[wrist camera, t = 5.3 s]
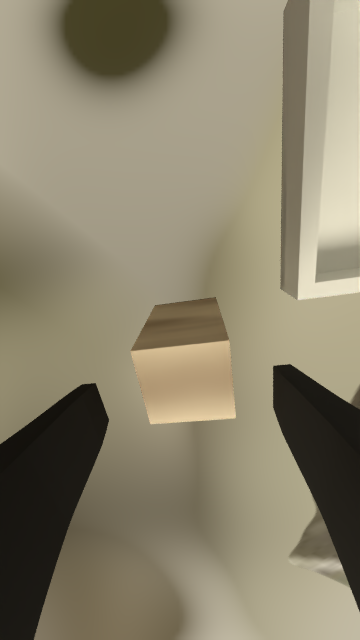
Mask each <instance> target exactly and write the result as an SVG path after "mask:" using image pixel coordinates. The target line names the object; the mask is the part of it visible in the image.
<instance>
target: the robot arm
mask: <svg viewBox="0 0 360 640" xmlns="http://www.w3.org/2000/svg"><path fill="white" fill-rule="evenodd" d="M273 408H274V411H275V414H276V417H277V420H278V422H279V425H280V428H281V431H282V433H283V435H284V437H285V440H286V442H287V444H288V446H289V448H290V450H291V452H292V454H293V456H294V458H295V460H296V462H297V465H298V466H299V468H300V471H301V473H302V475H303V477H304V478H305V481H306V483H307V485H308V487H309V489H310V491H311V493H312V495H313V497H314V499H315V501H316V503H317V506H318V508H319V510H320V512H321V515H322V517H323V519H324V521H325V524H326V526H327V529H328V531H329V534H330V536H331V539H332V542H333V544H334V547H335V549H336V552H337V554H338V557H339V559H340V562H341V564H342V567H343V569H344V572H345V575H346V577H347V580H348V582H349V585H350V588H351V590H352V593H353V595H354V598H355V601H356V603H357V606H358V609H359V611H360V410H359V409H358V408H356V407H354V406H353V405H351V404H350V403H348V402H346V401H345V400H343V399H341V398H340V397H338V396H337V395H335V394H334V393H332V392H331V391H329V390H328V389H326V388H325V387H323V386H322V385H320V384H319V383H317V382H316V381H314V380H313V379H311V378H310V377H308V376H307V375H305V374H304V373H302V372H301V371H299V370H298V369H297V368H295V367H294V366H292V365H290V364H288V365H277V366H274V367H273ZM108 422H109V418H108V416H107V413H106V411H105V408H104V405H103V402H102V400H101V397H100V394H99V391H98V388H97V386H96V383H93V384H82V385H80V386H79V387H77V388H76V389H75V390H73V391H72V392H70V393H69V394H68V395H66V396H65V397H63V398H62V399H61V400H59V401H58V402H57V403H56V404H54V405H53V406H52V407H50V408H49V409H48V410H46V411H45V412H44V413H42V414H41V415H40V416H38V417H37V418H36V419H34V420H33V421H32V422H30V423H29V424H28V425H26V426H25V427H24V428H22V429H21V430H19V431H18V432H17V433H15V434H14V435H13V436H11V437H10V438H8V439H7V440H6V441H4V442H3V443H1V444H0V640H34V636H35V633H36V629H37V626H38V622H39V619H40V615H41V612H42V608H43V605H44V602H45V598H46V595H47V592H48V589H49V585H50V582H51V579H52V576H53V572H54V569H55V566H56V562H57V560H58V557H59V554H60V551H61V548H62V545H63V542H64V539H65V536H66V533H67V530H68V527H69V524H70V521H71V519H72V516H73V513H74V511H75V508H76V506H77V504H78V501H79V499H80V497H81V494H82V492H83V490H84V487H85V485H86V482H87V480H88V478H89V475H90V473H91V471H92V468H93V466H94V463H95V461H96V459H97V456H98V454H99V451H100V449H101V446H102V444H103V440H104V437H105V434H106V430H107V426H108Z"/></svg>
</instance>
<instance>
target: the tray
mask: <svg viewBox="0 0 360 640" xmlns="http://www.w3.org/2000/svg"><path fill="white" fill-rule="evenodd" d="M283 33H284V34H283V37H284V38H283V120H282V122H283V124H282V126H283V127H282V210H281V211H282V212H281V217H282V218H281V290H283V291H285V292H286V293H288V294H289V295H291V296H292V297H294V298H295V299H297V300H303V299H311V298H319V297H326V296H334V295H342V294H349V293H358V292H360V0H288V2H287V5H286V7H285V10H284V32H283Z"/></svg>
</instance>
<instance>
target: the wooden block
mask: <svg viewBox="0 0 360 640" xmlns="http://www.w3.org/2000/svg"><path fill="white" fill-rule="evenodd" d="M131 355H132V359H133V362H134V366H135V369H136V373H137V377H138V380H139V384H140V388H141V391H142V395H143V399H144V402H145V406H146V409H147V413H148V417H149V420H150V424H159V423H174V422H189V421H204V420H218V419H232V418H236V414H235V403H234V390H233V379H232V367H231V356H230V355H231V354H230V342H229V338H228V335H227V332H226V329H225V325H224V322H223V319H222V316H221V313H220V310H219V306H218V303H217V300H216V297H215V298H207V299H200V300H192V301H184V302H177V303H170V304H162V305H155V307H154V308H153V310H152V312H151V314H150V316H149V318H148V319H147V321H146V323H145V325H144V327H143V329H142V331H141V333H140V335H139V337H138V338H137V340H136V342H135V344H134V346H133V347H132V349H131Z"/></svg>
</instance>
